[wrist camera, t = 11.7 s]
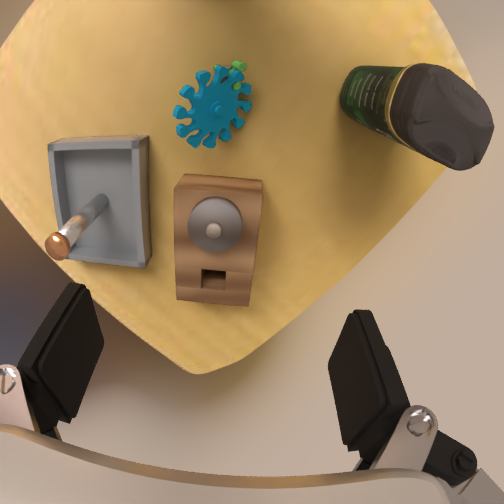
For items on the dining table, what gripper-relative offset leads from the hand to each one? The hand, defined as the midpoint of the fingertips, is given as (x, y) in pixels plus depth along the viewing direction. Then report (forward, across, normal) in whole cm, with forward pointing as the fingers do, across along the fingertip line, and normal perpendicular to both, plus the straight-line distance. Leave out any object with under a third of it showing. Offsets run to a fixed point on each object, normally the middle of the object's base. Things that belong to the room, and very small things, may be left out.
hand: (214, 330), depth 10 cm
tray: (+30, +19, +8) cm, 37 cm away
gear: (+31, +3, -6) cm, 31 cm away
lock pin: (+29, +19, +8) cm, 36 cm away
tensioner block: (+30, +2, +12) cm, 33 cm away
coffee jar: (+31, -16, -9) cm, 36 cm away
